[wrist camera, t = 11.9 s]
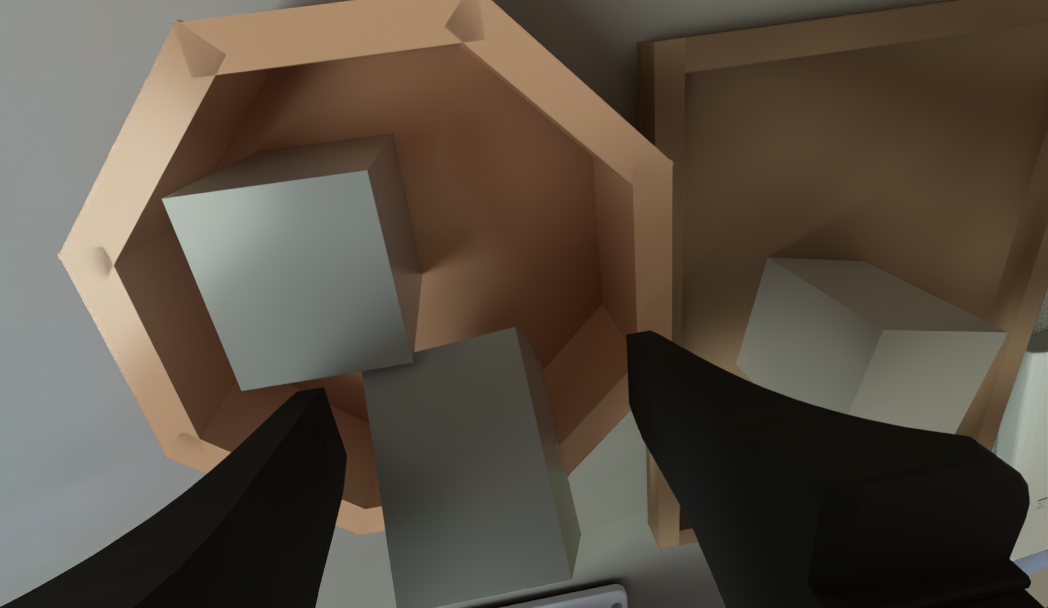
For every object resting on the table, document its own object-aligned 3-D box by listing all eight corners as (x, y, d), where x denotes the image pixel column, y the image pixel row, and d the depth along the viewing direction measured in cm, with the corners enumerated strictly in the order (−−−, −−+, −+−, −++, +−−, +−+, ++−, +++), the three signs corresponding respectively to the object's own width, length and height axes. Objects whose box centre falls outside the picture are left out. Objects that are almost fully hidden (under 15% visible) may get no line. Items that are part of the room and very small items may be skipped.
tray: (952, 462, 23) (979, 484, 22) (648, 523, 22) (659, 549, 21) (1100, -20, 15) (1155, -26, 14) (637, 43, 14) (653, 42, 13)
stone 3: (825, 365, 19) (941, 460, 15) (735, 364, 19) (828, 462, 14) (864, 261, 18) (1008, 332, 13) (767, 257, 17) (882, 329, 13)
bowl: (630, 396, 19) (672, 475, 16) (266, 462, 18) (222, 562, 15) (614, -17, 14) (675, -43, 10) (87, 50, 13) (-56, 48, 9)
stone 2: (538, 350, 15) (581, 534, 14) (421, 378, 15) (454, 561, 14) (515, 326, 11) (571, 578, 10) (360, 365, 12) (397, 614, 10)
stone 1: (422, 274, 16) (413, 362, 11) (301, 292, 15) (241, 391, 11) (392, 133, 14) (367, 169, 9) (255, 152, 14) (161, 198, 9)
